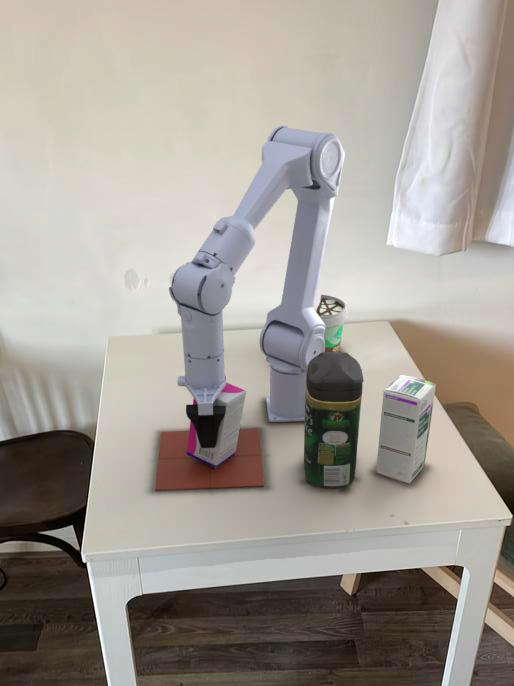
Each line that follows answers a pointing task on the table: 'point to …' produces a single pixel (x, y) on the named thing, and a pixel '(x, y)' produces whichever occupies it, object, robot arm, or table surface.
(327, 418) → the coffee jar
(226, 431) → the supplement box
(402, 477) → the syrup box
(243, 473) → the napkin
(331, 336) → the food container
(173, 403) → the table surface
